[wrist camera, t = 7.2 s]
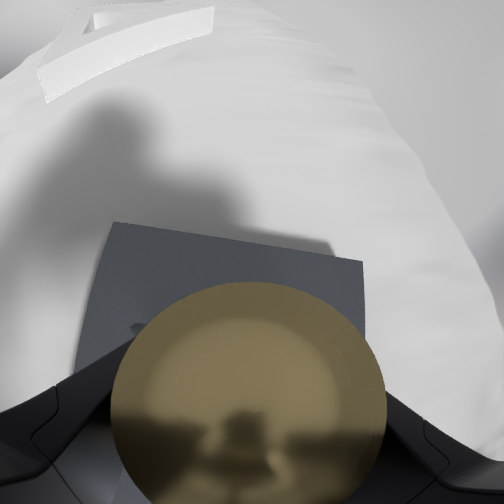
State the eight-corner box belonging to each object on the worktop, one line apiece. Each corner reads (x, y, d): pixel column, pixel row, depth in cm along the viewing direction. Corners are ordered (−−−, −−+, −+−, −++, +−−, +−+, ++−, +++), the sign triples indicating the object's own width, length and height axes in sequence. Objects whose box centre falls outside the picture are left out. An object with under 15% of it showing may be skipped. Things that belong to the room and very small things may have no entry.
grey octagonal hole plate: (328, 517, 14) (344, 531, 12) (82, 490, 13) (66, 502, 10) (345, 276, 23) (362, 261, 21) (122, 241, 22) (113, 221, 19)
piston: (216, 464, 12) (242, 575, 3) (151, 388, 13) (58, 381, 4) (293, 403, 14) (426, 409, 5) (229, 330, 15) (272, 232, 6)
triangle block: (211, 35, 41) (214, 5, 35) (138, 115, 29) (133, 69, 23) (79, 32, 40) (76, 8, 34) (-8, 106, 28) (-19, 77, 22)
